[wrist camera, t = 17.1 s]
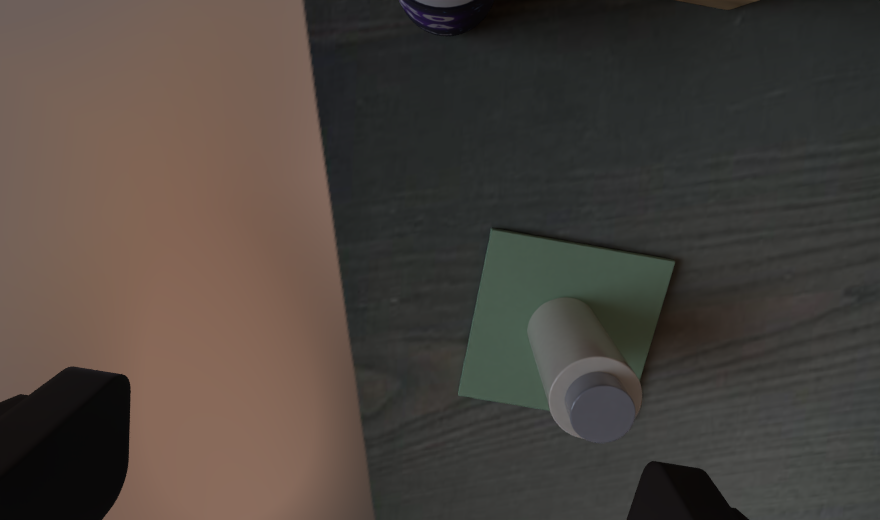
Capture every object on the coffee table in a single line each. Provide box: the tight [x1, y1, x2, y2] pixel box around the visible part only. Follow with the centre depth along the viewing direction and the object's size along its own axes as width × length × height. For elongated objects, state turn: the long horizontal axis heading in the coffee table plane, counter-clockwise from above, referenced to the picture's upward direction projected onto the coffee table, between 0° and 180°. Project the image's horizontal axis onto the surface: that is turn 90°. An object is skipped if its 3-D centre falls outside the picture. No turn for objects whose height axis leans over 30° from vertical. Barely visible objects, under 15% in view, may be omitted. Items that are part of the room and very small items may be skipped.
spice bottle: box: [527, 297, 642, 443], centre depth 33 cm, size 5×5×10 cm
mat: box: [458, 228, 675, 411], centre depth 38 cm, size 12×12×1 cm
